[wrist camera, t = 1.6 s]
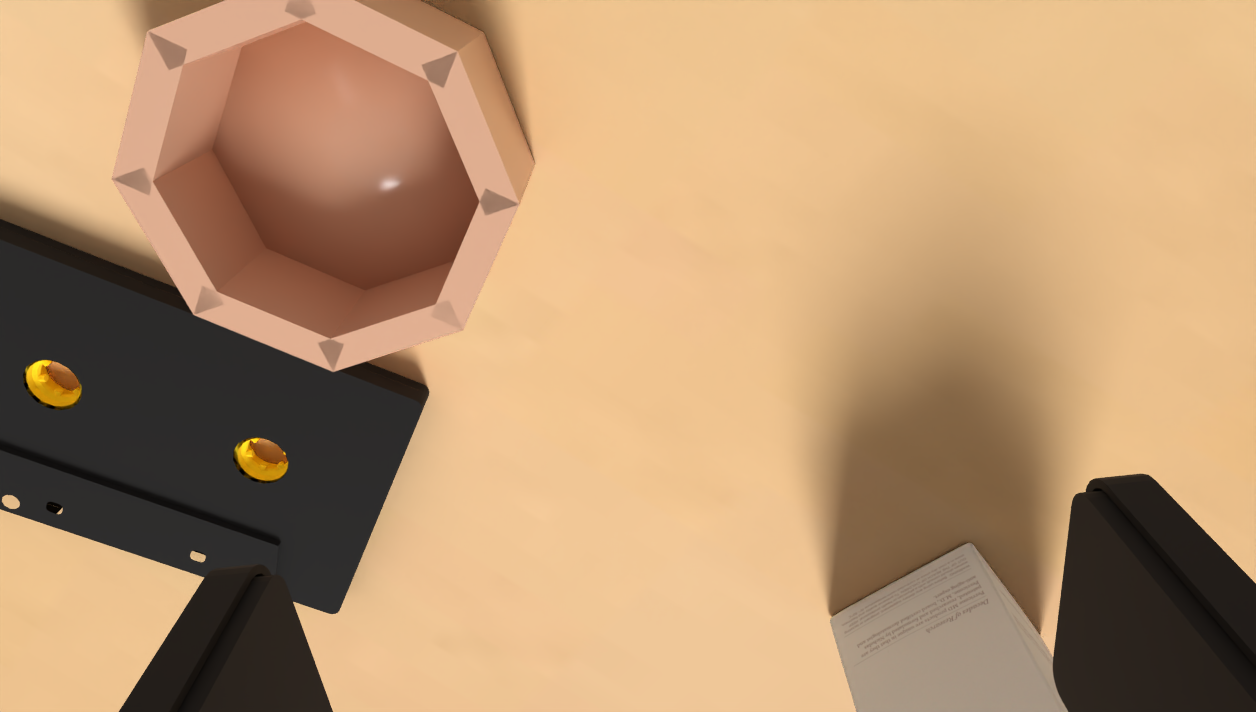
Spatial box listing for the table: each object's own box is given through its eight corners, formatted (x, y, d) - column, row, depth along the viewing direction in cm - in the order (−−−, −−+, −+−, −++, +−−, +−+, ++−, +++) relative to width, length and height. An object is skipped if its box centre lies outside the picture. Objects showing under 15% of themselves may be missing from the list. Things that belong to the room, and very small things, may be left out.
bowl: (443, -72, 28) (407, -72, 23) (567, 247, 32) (558, 299, 28) (135, 48, 29) (46, 70, 25) (295, 337, 34) (244, 400, 29)
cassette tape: (-71, 443, 37) (-110, 472, 35) (-37, 196, 32) (-80, 213, 30) (349, 587, 40) (334, 620, 38) (434, 381, 35) (423, 407, 33)
